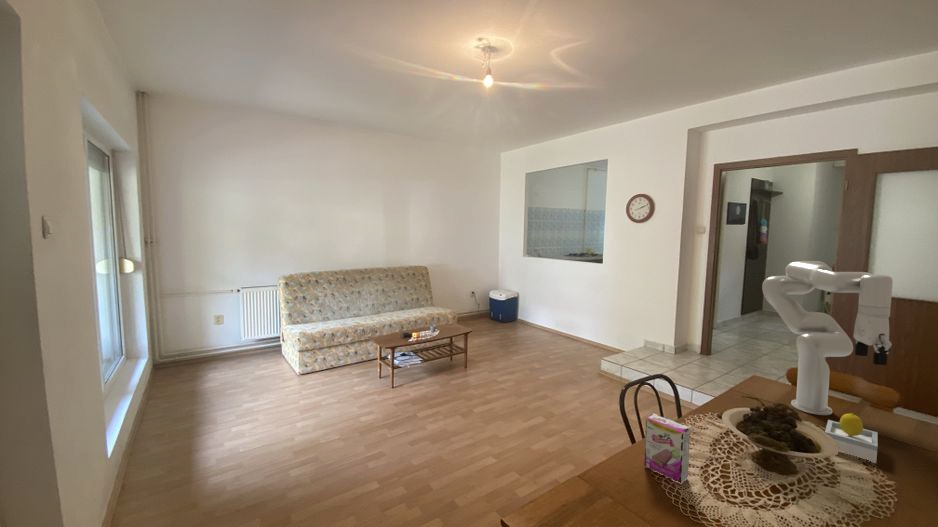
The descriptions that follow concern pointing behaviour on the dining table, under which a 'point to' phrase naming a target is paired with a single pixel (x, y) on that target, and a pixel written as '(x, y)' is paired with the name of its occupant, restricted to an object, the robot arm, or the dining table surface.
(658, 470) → the candy bar box
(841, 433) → the tray
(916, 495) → the dining table surface
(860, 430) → the lemon
